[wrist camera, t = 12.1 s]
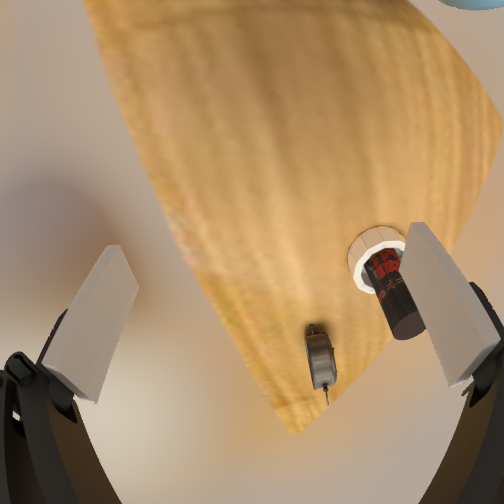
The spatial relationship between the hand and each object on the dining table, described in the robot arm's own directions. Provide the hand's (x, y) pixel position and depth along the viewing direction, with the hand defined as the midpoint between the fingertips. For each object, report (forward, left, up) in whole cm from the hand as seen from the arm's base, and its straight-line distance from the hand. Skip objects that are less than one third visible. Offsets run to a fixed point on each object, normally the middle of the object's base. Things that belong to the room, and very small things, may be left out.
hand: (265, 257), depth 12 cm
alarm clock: (+40, +11, -26) cm, 49 cm away
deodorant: (+19, +19, -25) cm, 37 cm away
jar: (+19, +19, -26) cm, 37 cm away
